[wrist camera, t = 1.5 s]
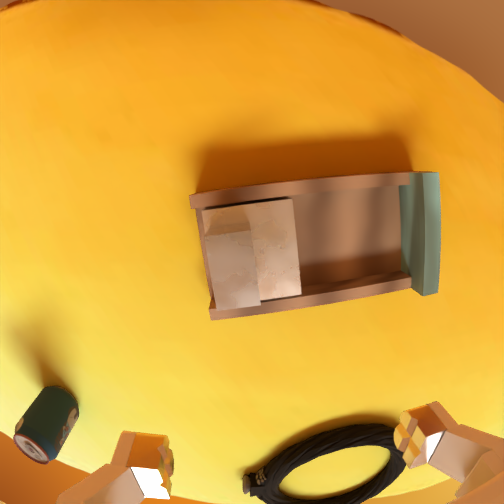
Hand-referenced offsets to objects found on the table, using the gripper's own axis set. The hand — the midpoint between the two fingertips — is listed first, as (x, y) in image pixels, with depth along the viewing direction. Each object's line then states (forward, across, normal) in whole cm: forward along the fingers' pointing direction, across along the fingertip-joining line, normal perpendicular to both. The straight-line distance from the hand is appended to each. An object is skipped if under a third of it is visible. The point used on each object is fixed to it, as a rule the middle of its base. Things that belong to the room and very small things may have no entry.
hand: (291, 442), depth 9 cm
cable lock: (+25, -14, +39) cm, 48 cm away
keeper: (+23, 0, -2) cm, 23 cm away
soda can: (+26, +29, +22) cm, 44 cm away
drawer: (+24, -8, -2) cm, 25 cm away
